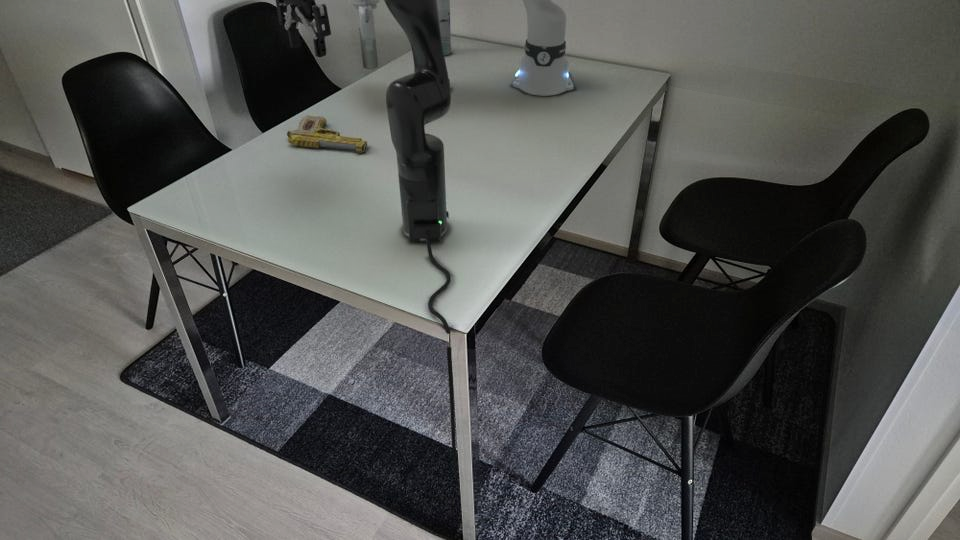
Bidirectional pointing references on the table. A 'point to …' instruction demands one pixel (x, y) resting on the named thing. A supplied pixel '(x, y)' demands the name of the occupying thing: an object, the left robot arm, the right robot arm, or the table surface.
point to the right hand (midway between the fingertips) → (369, 46)
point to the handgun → (322, 136)
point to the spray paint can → (445, 24)
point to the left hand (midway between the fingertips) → (308, 51)
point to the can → (369, 54)
